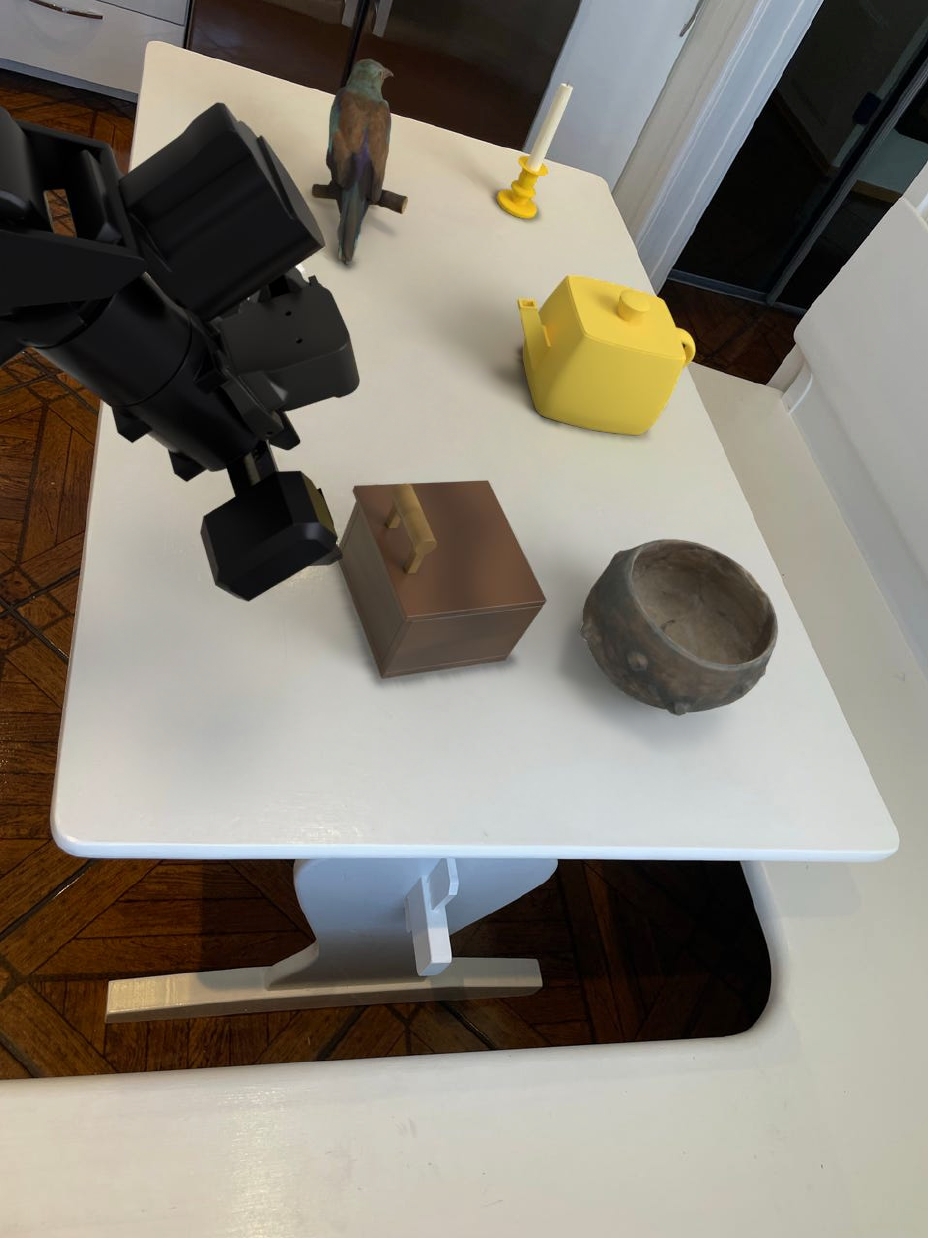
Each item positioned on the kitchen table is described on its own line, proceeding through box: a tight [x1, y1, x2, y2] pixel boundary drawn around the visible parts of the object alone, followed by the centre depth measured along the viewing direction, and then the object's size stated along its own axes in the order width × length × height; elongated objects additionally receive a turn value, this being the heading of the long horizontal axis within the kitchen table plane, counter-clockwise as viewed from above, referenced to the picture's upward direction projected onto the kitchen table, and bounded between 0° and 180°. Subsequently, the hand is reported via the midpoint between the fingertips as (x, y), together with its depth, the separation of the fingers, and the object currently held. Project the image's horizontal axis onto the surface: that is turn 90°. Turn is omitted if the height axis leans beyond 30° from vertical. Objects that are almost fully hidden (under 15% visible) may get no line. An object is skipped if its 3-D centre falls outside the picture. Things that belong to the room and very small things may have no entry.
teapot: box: [517, 274, 696, 436], centre depth 92 cm, size 20×12×12 cm, turn 98°
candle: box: [496, 80, 574, 220], centre depth 110 cm, size 5×5×16 cm
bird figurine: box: [311, 58, 409, 265], centre depth 97 cm, size 13×10×20 cm
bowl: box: [579, 538, 779, 717], centre depth 73 cm, size 14×15×10 cm
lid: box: [351, 479, 548, 622], centre depth 65 cm, size 11×12×4 cm
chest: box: [337, 501, 544, 680], centre depth 70 cm, size 11×12×7 cm
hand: (314, 499), depth 57 cm, fingers open, 9 cm apart
